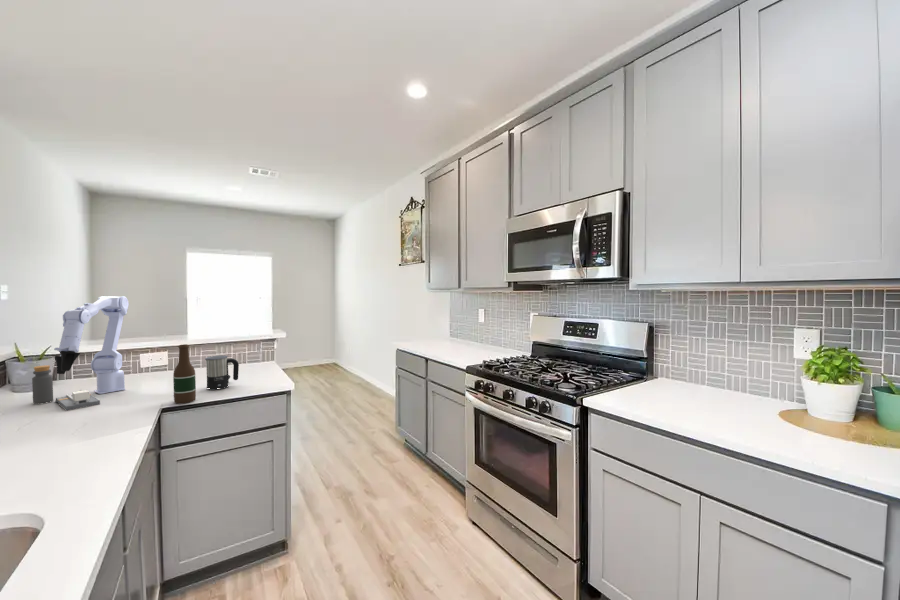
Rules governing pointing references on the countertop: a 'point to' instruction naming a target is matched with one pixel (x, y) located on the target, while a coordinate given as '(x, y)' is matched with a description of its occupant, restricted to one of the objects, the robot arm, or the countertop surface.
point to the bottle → (42, 385)
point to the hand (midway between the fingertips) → (63, 372)
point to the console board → (76, 402)
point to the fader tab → (81, 395)
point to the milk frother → (220, 371)
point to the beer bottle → (184, 378)
